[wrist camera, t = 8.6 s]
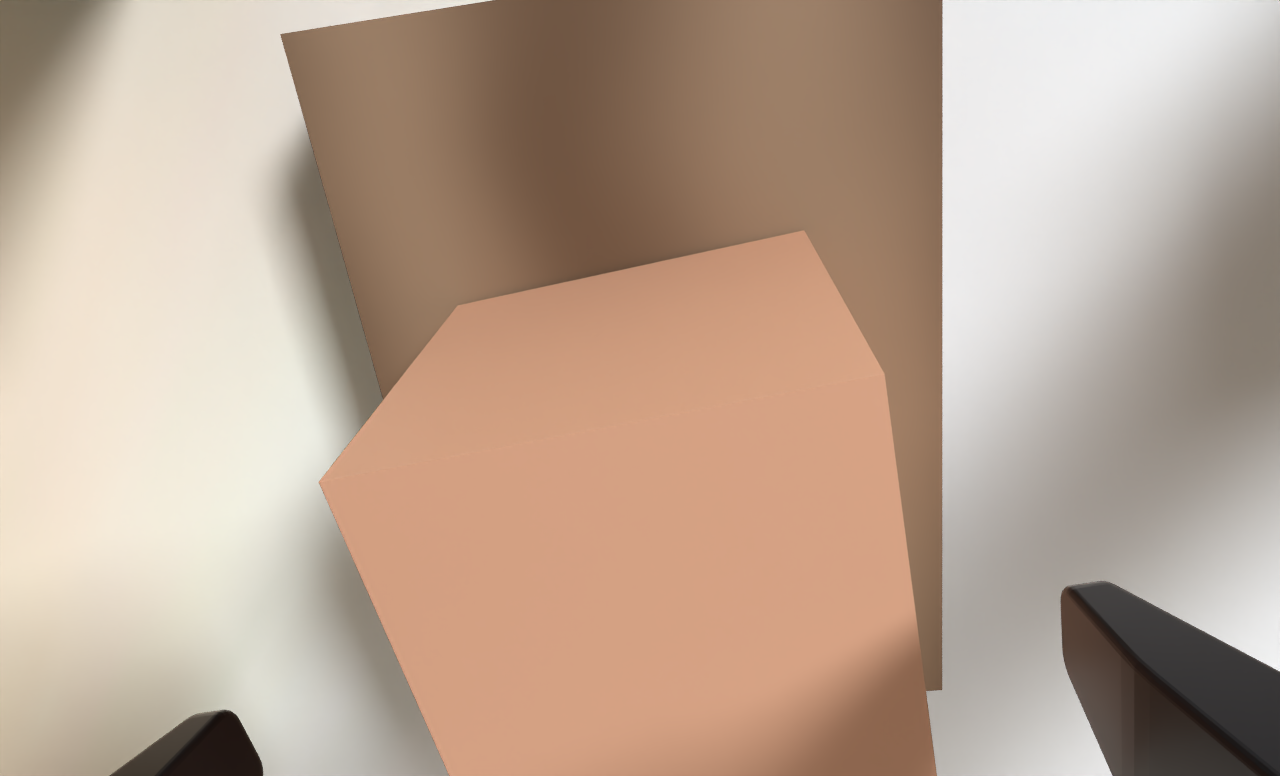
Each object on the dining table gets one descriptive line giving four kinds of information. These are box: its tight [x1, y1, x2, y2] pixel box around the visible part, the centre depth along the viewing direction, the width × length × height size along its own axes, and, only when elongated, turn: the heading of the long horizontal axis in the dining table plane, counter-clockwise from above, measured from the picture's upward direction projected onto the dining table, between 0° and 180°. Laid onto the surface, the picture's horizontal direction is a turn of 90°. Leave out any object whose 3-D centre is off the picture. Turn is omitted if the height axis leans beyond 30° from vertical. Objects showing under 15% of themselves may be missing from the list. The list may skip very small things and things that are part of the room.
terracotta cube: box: [319, 230, 937, 776], centre depth 12 cm, size 6×6×6 cm
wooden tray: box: [280, 0, 942, 691], centre depth 17 cm, size 10×14×4 cm
